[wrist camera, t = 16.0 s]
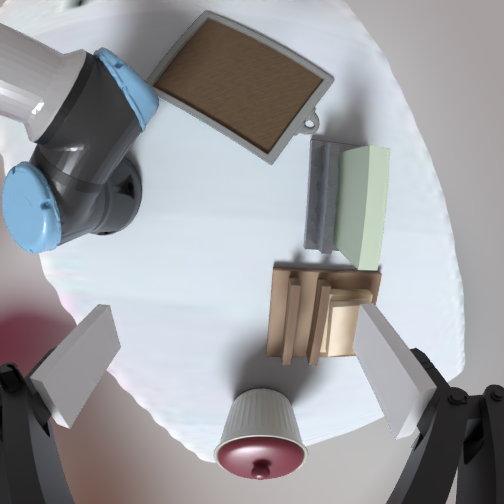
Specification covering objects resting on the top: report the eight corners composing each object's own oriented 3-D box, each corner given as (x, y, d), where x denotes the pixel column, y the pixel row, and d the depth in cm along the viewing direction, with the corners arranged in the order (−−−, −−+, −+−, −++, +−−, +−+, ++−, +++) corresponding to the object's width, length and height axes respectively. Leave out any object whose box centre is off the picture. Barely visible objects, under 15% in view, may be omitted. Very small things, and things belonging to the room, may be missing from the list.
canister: (225, 371, 55) (212, 449, 35) (309, 379, 55) (323, 456, 35) (220, 421, 60) (209, 489, 40) (291, 428, 60) (296, 495, 40)
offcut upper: (325, 348, 48) (327, 356, 46) (329, 301, 46) (332, 307, 43) (360, 345, 48) (364, 352, 46) (367, 298, 45) (372, 304, 43)
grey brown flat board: (204, 10, 35) (348, 88, 39) (206, 14, 37) (345, 91, 40) (141, 87, 40) (285, 174, 43) (144, 89, 41) (284, 174, 45)
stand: (303, 246, 48) (310, 259, 40) (310, 140, 43) (319, 134, 36) (357, 249, 47) (372, 262, 40) (366, 148, 43) (384, 144, 35)
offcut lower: (317, 345, 51) (319, 352, 49) (327, 288, 48) (330, 294, 45) (355, 344, 51) (359, 351, 49) (368, 289, 48) (372, 294, 45)
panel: (327, 238, 46) (358, 269, 30) (333, 154, 42) (369, 144, 26) (341, 239, 45) (377, 270, 30) (347, 156, 42) (389, 148, 26)
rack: (266, 352, 54) (266, 368, 48) (273, 267, 49) (274, 278, 43) (360, 351, 53) (368, 366, 48) (378, 271, 48) (390, 282, 43)
